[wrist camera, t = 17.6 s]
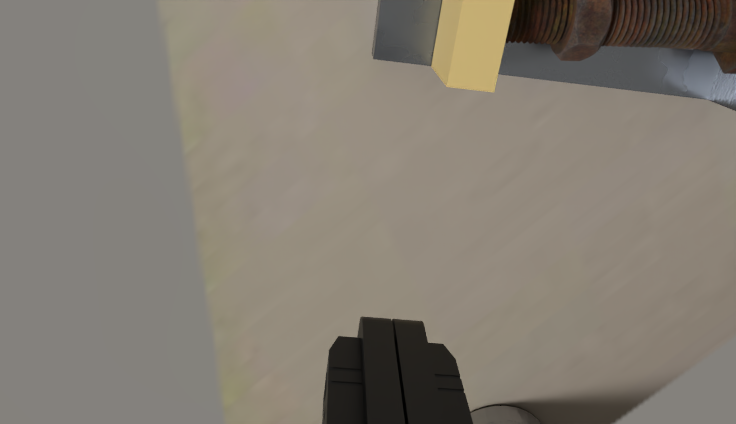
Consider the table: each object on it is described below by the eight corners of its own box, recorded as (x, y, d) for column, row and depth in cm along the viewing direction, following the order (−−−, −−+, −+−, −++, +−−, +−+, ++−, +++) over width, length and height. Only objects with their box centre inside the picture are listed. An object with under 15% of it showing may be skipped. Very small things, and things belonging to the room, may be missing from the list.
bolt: (485, -7, 33) (729, 1, 33) (484, 74, 33) (731, 82, 33) (513, -63, 27) (808, -52, 28) (512, 35, 27) (811, 45, 27)
